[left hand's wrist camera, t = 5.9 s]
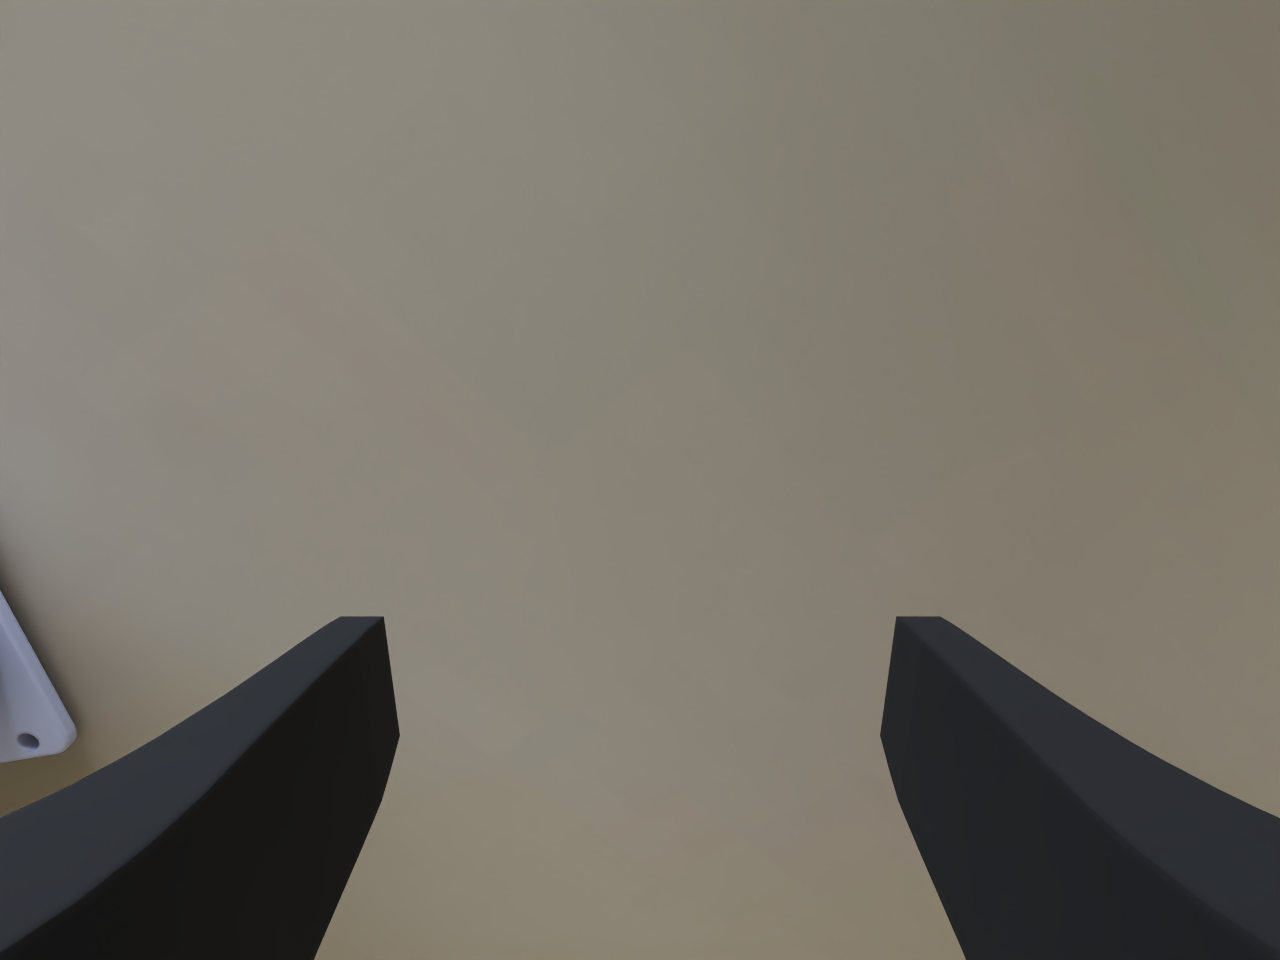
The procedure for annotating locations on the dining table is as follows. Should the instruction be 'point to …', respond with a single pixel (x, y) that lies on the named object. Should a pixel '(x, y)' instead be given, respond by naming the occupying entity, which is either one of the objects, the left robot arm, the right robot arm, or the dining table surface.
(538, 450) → the dining table surface
